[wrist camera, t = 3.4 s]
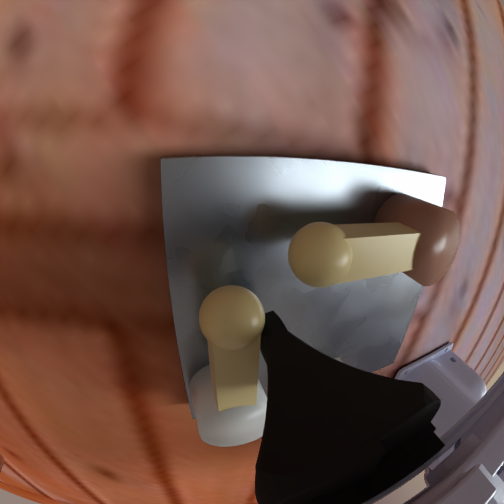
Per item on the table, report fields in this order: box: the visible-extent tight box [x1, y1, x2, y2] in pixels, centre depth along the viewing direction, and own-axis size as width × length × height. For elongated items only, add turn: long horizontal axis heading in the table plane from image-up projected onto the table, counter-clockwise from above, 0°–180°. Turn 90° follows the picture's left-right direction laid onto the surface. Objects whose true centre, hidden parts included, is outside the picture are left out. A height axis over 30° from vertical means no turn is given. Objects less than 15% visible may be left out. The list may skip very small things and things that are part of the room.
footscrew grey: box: [190, 285, 267, 447], centre depth 11 cm, size 9×4×3 cm, turn 177°
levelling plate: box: [161, 155, 446, 419], centre depth 14 cm, size 15×14×1 cm
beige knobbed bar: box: [288, 193, 460, 288], centre depth 11 cm, size 9×4×3 cm, turn 87°
